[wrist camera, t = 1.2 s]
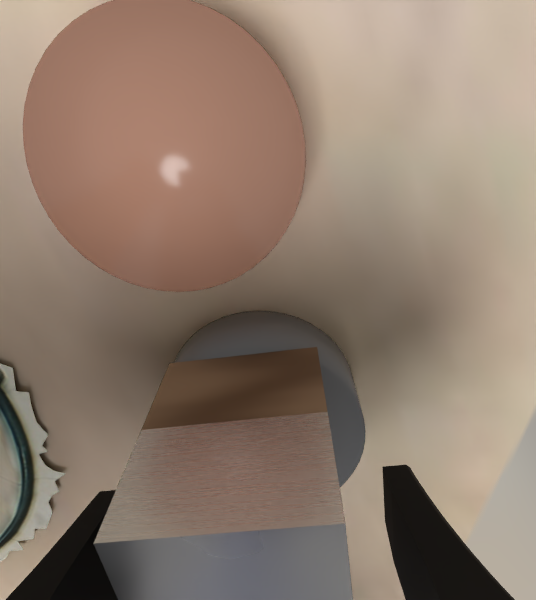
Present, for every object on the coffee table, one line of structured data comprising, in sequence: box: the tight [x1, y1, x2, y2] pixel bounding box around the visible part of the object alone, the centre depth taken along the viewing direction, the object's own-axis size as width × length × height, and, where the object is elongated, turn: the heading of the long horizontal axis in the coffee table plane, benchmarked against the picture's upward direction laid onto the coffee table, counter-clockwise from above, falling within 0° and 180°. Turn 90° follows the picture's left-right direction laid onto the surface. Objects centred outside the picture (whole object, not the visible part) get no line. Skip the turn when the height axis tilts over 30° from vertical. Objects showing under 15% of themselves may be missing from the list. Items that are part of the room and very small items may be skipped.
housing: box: [94, 347, 353, 600], centre depth 12 cm, size 4×6×6 cm
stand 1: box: [23, 0, 306, 292], centre depth 12 cm, size 7×7×2 cm
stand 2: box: [174, 311, 365, 487], centre depth 16 cm, size 7×7×2 cm
